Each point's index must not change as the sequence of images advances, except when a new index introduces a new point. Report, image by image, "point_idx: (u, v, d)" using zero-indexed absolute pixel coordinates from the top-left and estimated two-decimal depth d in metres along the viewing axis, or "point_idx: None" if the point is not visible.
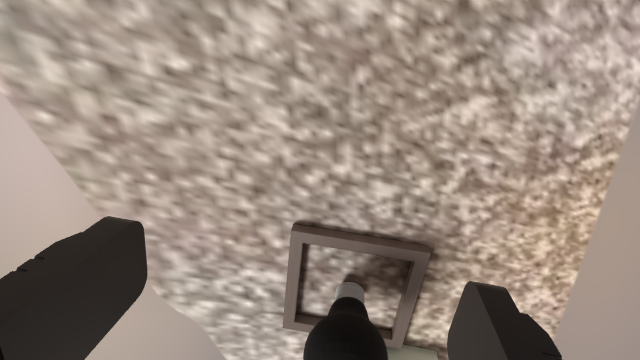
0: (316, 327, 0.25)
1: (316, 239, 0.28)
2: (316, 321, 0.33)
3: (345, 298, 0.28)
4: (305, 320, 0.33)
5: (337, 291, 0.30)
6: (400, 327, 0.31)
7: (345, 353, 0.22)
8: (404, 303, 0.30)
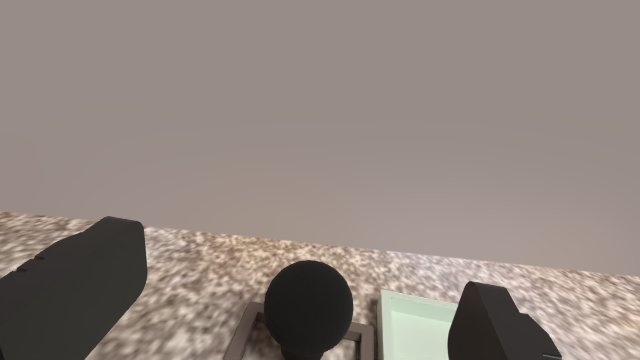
0: (274, 334, 0.21)
1: None
2: None
3: None
4: None
5: None
6: None
7: (274, 281, 0.23)
8: None
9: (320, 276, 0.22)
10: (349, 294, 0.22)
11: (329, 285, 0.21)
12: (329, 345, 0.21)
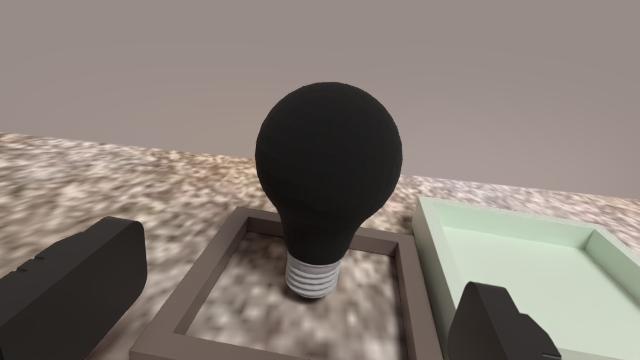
0: (273, 184, 0.13)
1: (172, 309, 0.14)
2: (410, 345, 0.14)
3: (285, 242, 0.16)
4: None
5: (298, 282, 0.16)
6: (369, 233, 0.21)
7: None
8: None
9: (350, 89, 0.13)
10: (396, 128, 0.14)
11: (366, 99, 0.13)
12: (368, 199, 0.12)
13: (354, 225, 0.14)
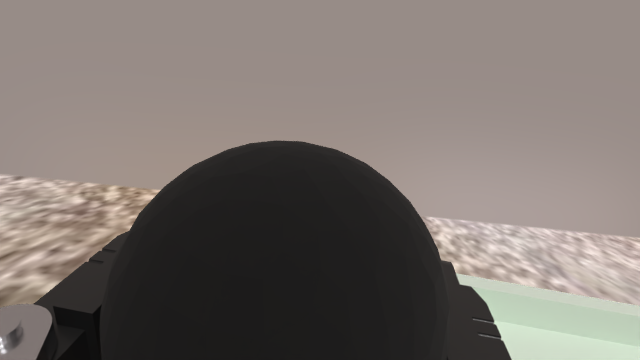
0: None
1: None
2: None
3: None
4: None
5: None
6: None
7: None
8: None
9: (326, 169, 0.05)
10: (436, 250, 0.06)
11: (367, 199, 0.05)
12: None
13: None
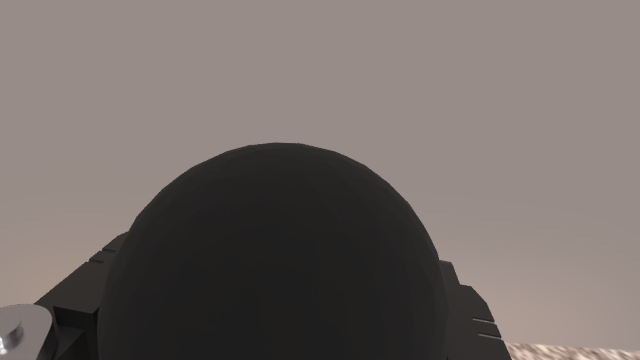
0: None
1: None
2: None
3: None
4: None
5: None
6: None
7: (146, 206, 0.06)
8: None
9: (325, 171, 0.05)
10: (436, 253, 0.06)
11: (366, 202, 0.05)
12: None
13: None
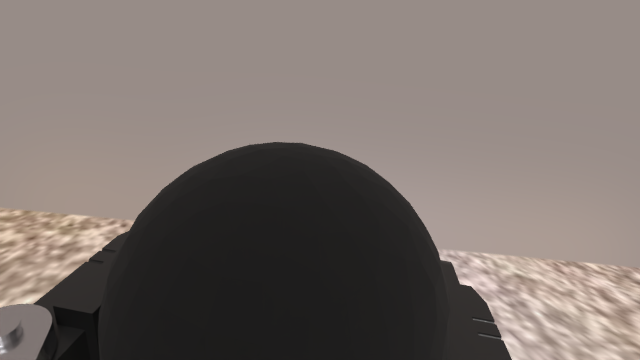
0: None
1: None
2: None
3: None
4: None
5: None
6: None
7: None
8: None
9: (326, 171, 0.05)
10: (437, 252, 0.06)
11: (367, 202, 0.05)
12: None
13: None
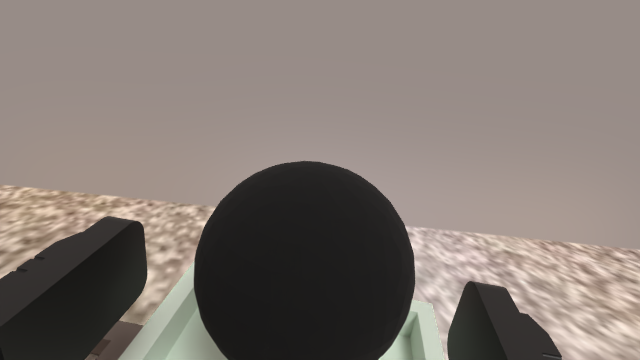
0: (212, 334, 0.08)
1: None
2: None
3: None
4: None
5: None
6: None
7: (219, 203, 0.09)
8: None
9: (335, 182, 0.08)
10: (406, 234, 0.09)
11: (360, 201, 0.08)
12: None
13: None
